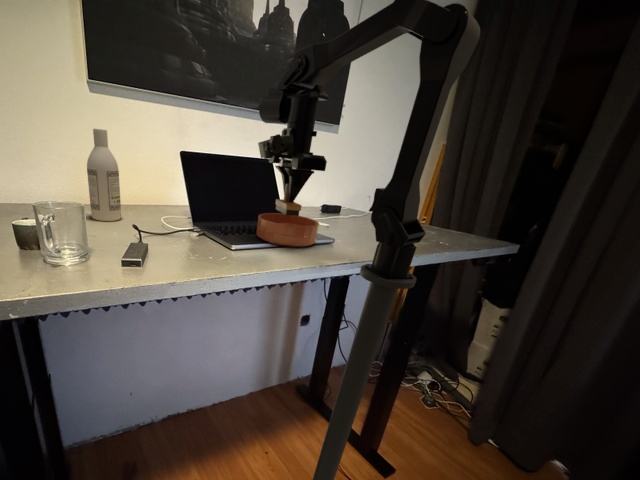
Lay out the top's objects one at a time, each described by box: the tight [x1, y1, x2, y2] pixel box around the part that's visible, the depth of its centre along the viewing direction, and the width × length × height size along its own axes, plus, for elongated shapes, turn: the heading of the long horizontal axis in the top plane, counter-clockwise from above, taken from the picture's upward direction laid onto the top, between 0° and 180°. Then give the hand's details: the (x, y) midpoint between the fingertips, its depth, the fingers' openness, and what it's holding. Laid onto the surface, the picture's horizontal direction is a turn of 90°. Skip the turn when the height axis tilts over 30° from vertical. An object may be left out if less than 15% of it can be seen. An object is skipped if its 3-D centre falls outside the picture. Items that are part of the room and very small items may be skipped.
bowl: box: [255, 212, 320, 248], centre depth 79 cm, size 15×15×5 cm
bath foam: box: [86, 128, 122, 222], centre depth 77 cm, size 7×7×20 cm
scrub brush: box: [275, 183, 302, 216], centre depth 75 cm, size 7×4×6 cm, turn 14°
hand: (288, 200), depth 75 cm, fingers closed on scrub brush, 2 cm apart
